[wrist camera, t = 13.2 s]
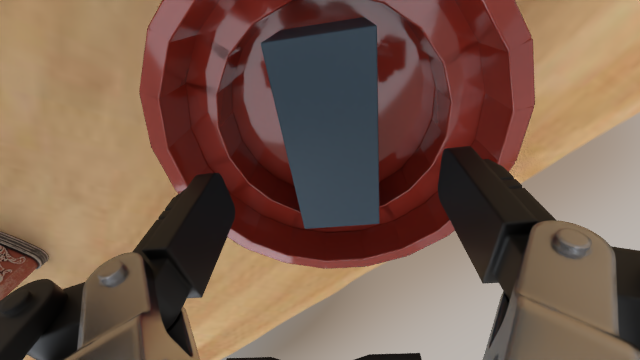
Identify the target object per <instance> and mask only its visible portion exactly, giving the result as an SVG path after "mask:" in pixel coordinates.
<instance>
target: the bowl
mask: <svg viewBox="0 0 640 360" xmlns="http://www.w3.org/2000/svg"><path fill="white" fill-rule="evenodd" d="M361 17H365V18H367V19H368V20H369V21H371V22H372V23H374V24H375V25H376V26H377V68H378V146H379V224H369V225H354V226H339V227H325V228H310V229H305V228H304V224H303V220H302V216H301V212H300V207H299V203H298V199H297V195H296V191H295V186H294V182H293V178H292V174H291V170H290V165H289V161H288V157H287V153H286V149H285V145H284V140H283V136H282V132H281V128H280V124H279V119H278V115H277V111H276V107H275V103H274V98H273V94H272V90H271V86H270V82H269V77H268V73H267V69H266V65H265V61H264V56H263V52H262V48H261V43H262V42H263V41H265V40H266V39H268V38H269V37H271V36H272V35H274V34H275V33H277V32H278V31H280V30H284V29H291V28H297V27H303V26H310V25H316V24H323V23H329V22H336V21H342V20H348V19H355V18H361ZM139 92H140V98H141V102H142V107H143V112H144V116H145V121H146V125H147V130H148V135H149V139H150V144H151V148H152V149H153V151H154V153H155V155H156V156H157V158H158V160H159V162H160V164H161V165H162V167H163V169H164V171H165V172H166V174H167V176H168V178H169V180H170V181H171V183H172V185H173V187H174V188H175V190H176V191H177V193H178V194H179V193H181V192H182V191H183V190H184V189H186V188H187V187H188V185H189V184H190V183H191V181H192V180H193V178H194V177H195V176H196V175H199V174H208V173H219V174H220V175H221V176H222V178H223V180H224V182H225V185H226V187H227V189H228V191H229V194H230V196H231V198H232V201H233V203H234V206H235V219H234V222H233V224H232V227H231V229H230V231H229V234H228V236H227V237H228V238H230V239H231V240H233V241H234V242H236V243H238V244H239V245H241V246H242V247H244V248H246V249H248V250H251V251H254V252H257V253H259V254H262V255H265V256H268V257H270V258H273V259H276V260H279V261H281V262H285V263H290V264H297V265H304V266H310V267H317V268H326V269H327V268H347V267H365V266H371V265H374V264H378V263H382V262H386V261H390V260H394V259H397V258H401V257H406V256H407V255H411V254H413V253H415V252H417V251H419V250H420V249H423V248H425V247H427V246H429V245H431V244H432V243H435V242H437V241H439V240H441V239H443V238H445V237H447V236H448V235H450V234H451V233H452V232H453V231H455V229H454V227H453V225H452V223H451V221H450V220H449V218H448V216H447V214H446V212H445V210H444V208H443V206H442V204H441V202H440V199H439V195H438V181H439V174H440V167H441V160H442V154H443V151H444V149H446V148H454V147H464V146H471V147H472V148H473V149H474V150H475V151H476V152H477V154H478V155H479V156H480V157H481V158H482V159H489V160H491V161H493V162H495V163H497V164H499V165H501V166H503V167H504V168H505V169H506V170H507V171H508V172H509V171H510V169H511V168H512V166H513V165H514V164H515V161H516V160H517V157H518V154H519V151H520V148H521V145H522V142H523V139H524V136H525V133H526V130H527V127H528V124H529V121H530V118H531V115H532V112H533V109H534V105H535V93H534V60H533V39H532V38H531V34H530V32H529V30H528V28H527V25H526V23H525V21H524V19H523V17H522V15H521V12H520V10H519V8H518V6H517V4H516V2H515V0H163V1H162V3H161V4H160V6H159V8H158V10H157V11H156V13H155V15H154V17H153V19H152V20H151V22H150V24H149V26H148V29H147V36H146V44H145V51H144V59H143V67H142V75H141V83H140V91H139Z"/></svg>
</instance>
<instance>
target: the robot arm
mask: <svg viewBox="0 0 640 360" xmlns="http://www.w3.org/2000/svg"><path fill="white" fill-rule="evenodd" d="M438 195H439V199H440V202H441V204H442V206H443V208H444V210H445V212H446V214H447V216H448V218H449V220H450V221H451V223H452V225H453V227H454V229H455V231H456V233H457V234H458V237H459V239H460V241H461V242H462V244H463V246H464V248H465V250H466V252H467V254H468V256H469V258H470V259H471V262H472V263H473V265H474V267H475V269H476V271H477V273H478V275H479V277H480V279H481V281H482V283H500V285H501V287H502V289H503V290H504V291H503V294H502V296H501V299H500V302H499V306H498V309H497V313H496V317H495V320H494V324H493V327H492V330H491V334H490V337H489V341H488V344H487V348H486V351H485V354H484V358H483V360H640V251H637V250H630V249H624V248H617V247H611V246H610V245H609V244H608V243H607V242H606V241H605V240H604V239H603V238H601V237H600V236H599V235H597V234H596V233H594V232H592V231H590V230H588V229H586V228H584V227H581V226H579V225H576V224H573V223H569V222H564V221H556V220H555V219H554V217H553V216H552V215H550V213H548V211H547V210H546V209H545V208H544V207H543V206H542V205H541V204H540V203H539V202H538V201H537V200H536V199H535V198H534V197H533V196H532V195H531V194H530V193H529V192H528V191H527V190H526V189H525V188H522V185H521V184H520V183H519V182H518V181H517V180H516V179H514V178H513V176H512V175H511V174H510V173H509V172H508V171H507V170H506V169H505V168H504V167H503V166H501V165H499V164H497V163H495V162H493V161H491V160H489V159H482V158H481V157H480V156H479V155H478V154H477V152H476V151H475V150H474V149H473V148H472V147H471V146H464V147H454V148H446V149H444V151H443V154H442V160H441V167H440V174H439V181H438ZM234 219H235V206H234V203H233V201H232V198H231V196H230V194H229V191H228V189H227V187H226V185H225V182H224V180H223V178H222V176H221V175H220V174H219V173H208V174H199V175H196V176H195V177H194V178H193V180H192V181H191V183H190V184H189V185H188V187H187V188H186V189H184V190H183V191H182V192H181V193H179V194H178V195H177V196H176V197H174V198H173V199H172V200H171V202H170V203H169V204H168V206H167V207H166V208H165V211H163V212H162V214H161V215H160V216H159V220H156V222H155V223H154V224H153V226H152V227H151V228H150V230H149V231H148V232H147V234H146V235H145V236H144V237H143V239H142V240H141V241H140V243H139V244H138V245H137V247H136V248H135V249H134V251H133V252H130V253H124V254H121V255H118V256H116V257H114V258H112V259H110V260H108V261H107V262H105V263H103V264H102V265H101V266H99V267H98V268H97V269H96V270H95V271H94V272H93V273H92V274H91V275H90V276H89V278H88V279H87V281H86V282H84V283H81V284H78V285H75V286H72V287H69V288H66V289H63V290H62V289H61V288H60V287H59V286H57V285H56V284H55V283H54V282H52V281H51V280H49V279H41V280H37V281H33V282H31V283H28V284H26V285H24V286H22V287H20V288H18V289H17V290H15V291H13V292H12V293H10V294H9V295H7V296H6V297H5V298H3V299H2V300H1V301H0V360H23V358H24V357H25V356H26V355H29V356H31V357H33V358H34V359H36V360H200V358H199V354H198V350H197V347H196V343H195V340H194V336H193V333H192V329H191V326H190V322H189V318H188V315H187V312H186V309H185V308H184V307H183V305H184V303H185V301H186V298H199V297H202V296H203V293H204V291H205V289H206V286H207V284H208V282H209V279H210V277H211V274H212V272H213V270H214V267H215V265H216V262H217V260H218V258H219V255H220V253H221V250H222V248H223V246H224V243H225V241H226V238H227V236H228V234H229V231H230V229H231V227H232V224H233V222H234ZM227 360H279V359H276V358H272V357H265V358H264V357H262V358H227ZM355 360H421V356H420V353H412V354H411V353H409V354H375V355H374V354H372V355H367V356H364V357H361V358H358V359H355Z"/></svg>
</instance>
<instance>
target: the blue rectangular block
mask: <svg viewBox="0 0 640 360" xmlns="http://www.w3.org/2000/svg"><path fill="white" fill-rule="evenodd" d="M261 48H262V52H263V56H264V61H265V65H266V69H267V73H268V77H269V82H270V86H271V90H272V94H273V98H274V103H275V107H276V111H277V115H278V119H279V124H280V128H281V132H282V136H283V140H284V145H285V149H286V153H287V157H288V161H289V165H290V170H291V174H292V178H293V182H294V186H295V191H296V195H297V199H298V203H299V207H300V212H301V216H302V220H303V224H304V228H305V229H310V228H325V227H339V226H354V225H369V224H379V146H378V68H377V26H376V25H375V24H374V23H372V22H371V21H369V20H368V19H367V18H365V17H361V18H355V19H348V20H342V21H336V22H329V23H323V24H316V25H310V26H303V27H297V28H291V29H284V30H280V31H278V32H277V33H275V34H274V35H272V36H271V37H269V38H268V39H266V40H265V41H263V42H262V43H261Z"/></svg>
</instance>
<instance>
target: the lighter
mask: <svg viewBox="0 0 640 360" xmlns="http://www.w3.org/2000/svg"><path fill="white" fill-rule="evenodd" d="M48 259H49V258H48V255H47V254H46V253H45V252H44V251H43V250H41V249H39V248H37V247H35V246H33V245H31V244H29V243H27V242H24V241H22V240H20V239H17V238H15V237H12V236H10V235H7V234H5V233H2V232H0V301H1V300H2V299H3V298H5V297H6V296H7V295H8V294H9V293H10V292H11V291H12V290H13V289H14V288H15V287H17V286H18V285H19V284H20V283H21V282H22V281H23V280H24V279H25V278H26V277H27V276H28V275H30V274H31V273H32V272H33V271H34V270H35V269H38V268H40V267H41V266H42V265H43V264H44V263H45V262H47V261H48Z"/></svg>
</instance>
